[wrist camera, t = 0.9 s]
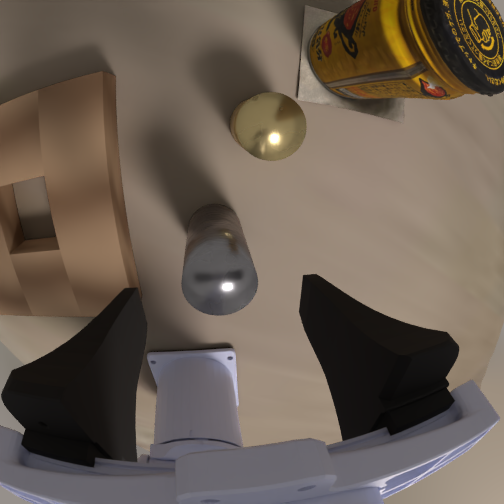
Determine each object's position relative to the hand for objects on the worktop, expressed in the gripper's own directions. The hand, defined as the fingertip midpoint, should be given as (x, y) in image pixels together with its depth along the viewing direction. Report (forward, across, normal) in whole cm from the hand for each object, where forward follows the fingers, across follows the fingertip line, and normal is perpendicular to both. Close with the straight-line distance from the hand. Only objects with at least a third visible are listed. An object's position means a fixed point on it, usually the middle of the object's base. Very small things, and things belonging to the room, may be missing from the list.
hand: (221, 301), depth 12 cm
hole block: (+8, +13, -3) cm, 16 cm away
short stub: (+8, -3, -7) cm, 11 cm away
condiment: (+9, -10, -12) cm, 18 cm away
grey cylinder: (+8, 0, 0) cm, 8 cm away
